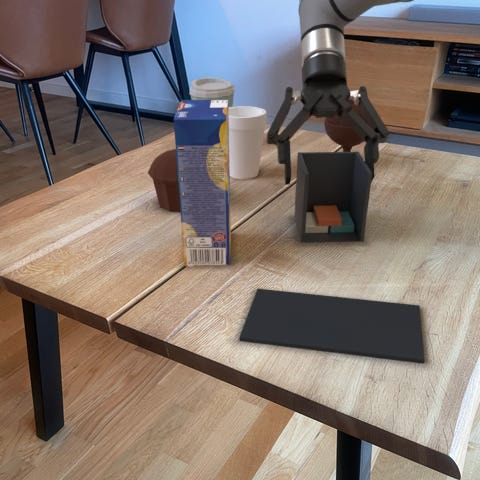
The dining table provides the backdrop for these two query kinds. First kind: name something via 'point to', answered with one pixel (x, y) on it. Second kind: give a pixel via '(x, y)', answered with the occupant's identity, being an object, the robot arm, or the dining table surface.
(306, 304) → the mat
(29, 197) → the dining table surface
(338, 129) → the ice cream bowl
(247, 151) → the foam cup
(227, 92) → the disposable coffee cup
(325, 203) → the basket
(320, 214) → the block
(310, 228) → the block
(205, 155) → the beverage box
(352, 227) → the block
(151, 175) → the muffin
